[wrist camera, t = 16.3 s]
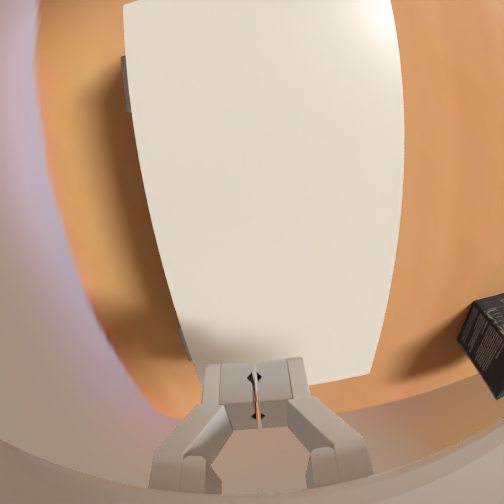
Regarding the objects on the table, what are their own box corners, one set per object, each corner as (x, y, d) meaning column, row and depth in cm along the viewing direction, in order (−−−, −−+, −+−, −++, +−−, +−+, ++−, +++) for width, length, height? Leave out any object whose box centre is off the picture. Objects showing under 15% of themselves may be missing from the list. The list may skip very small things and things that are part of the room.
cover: (131, 12, 9) (123, 5, 8) (378, 0, 9) (388, -6, 8) (206, 382, 20) (205, 395, 19) (364, 361, 20) (369, 373, 19)
